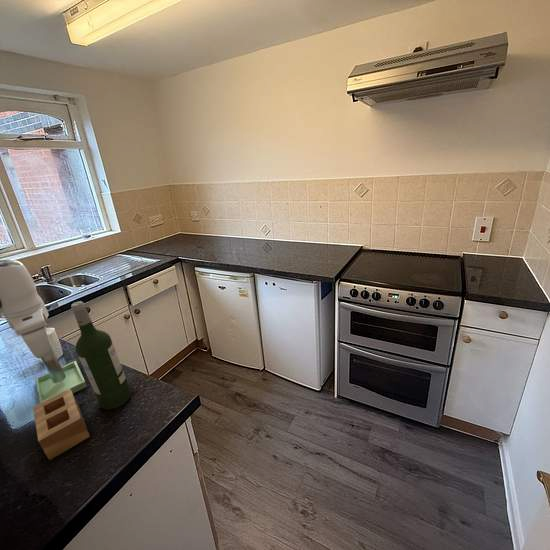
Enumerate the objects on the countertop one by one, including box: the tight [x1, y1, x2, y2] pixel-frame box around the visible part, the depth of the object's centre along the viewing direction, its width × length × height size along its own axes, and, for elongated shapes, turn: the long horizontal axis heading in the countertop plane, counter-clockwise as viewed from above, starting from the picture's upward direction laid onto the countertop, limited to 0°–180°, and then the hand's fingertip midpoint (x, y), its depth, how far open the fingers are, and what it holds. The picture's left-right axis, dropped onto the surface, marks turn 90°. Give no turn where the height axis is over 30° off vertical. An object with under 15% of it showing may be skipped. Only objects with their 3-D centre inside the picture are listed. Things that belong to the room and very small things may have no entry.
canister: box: [41, 346, 66, 383], centre depth 89 cm, size 3×3×12 cm
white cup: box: [38, 327, 64, 364], centre depth 105 cm, size 8×8×10 cm
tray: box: [34, 360, 88, 404], centre depth 91 cm, size 15×11×2 cm
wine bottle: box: [70, 300, 132, 410], centre depth 77 cm, size 8×8×30 cm
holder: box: [32, 389, 91, 461], centre depth 74 cm, size 15×8×6 cm, turn 42°
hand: (48, 356), depth 88 cm, fingers closed on canister, 3 cm apart
